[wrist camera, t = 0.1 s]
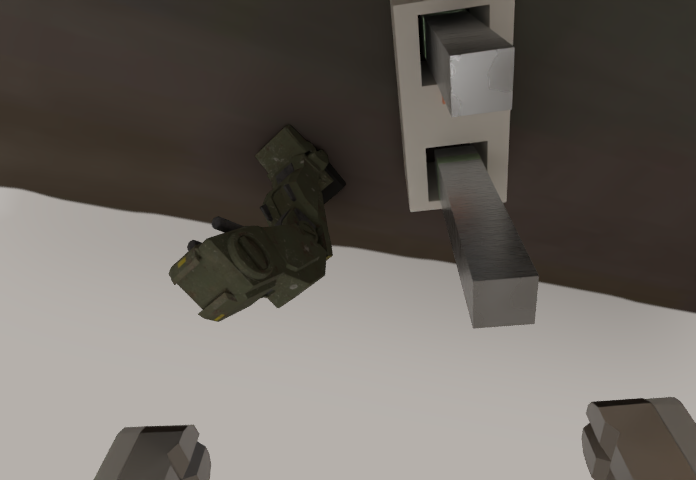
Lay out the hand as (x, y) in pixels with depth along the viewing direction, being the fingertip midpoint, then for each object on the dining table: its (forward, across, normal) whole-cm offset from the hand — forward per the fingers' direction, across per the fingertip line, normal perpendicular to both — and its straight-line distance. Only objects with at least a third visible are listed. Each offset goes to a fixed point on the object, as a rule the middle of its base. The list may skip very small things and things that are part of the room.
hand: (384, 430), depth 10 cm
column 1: (+48, -7, 0) cm, 48 cm away
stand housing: (+48, -7, +6) cm, 49 cm away
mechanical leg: (+48, +11, +13) cm, 51 cm away
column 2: (+40, -7, +12) cm, 42 cm away
